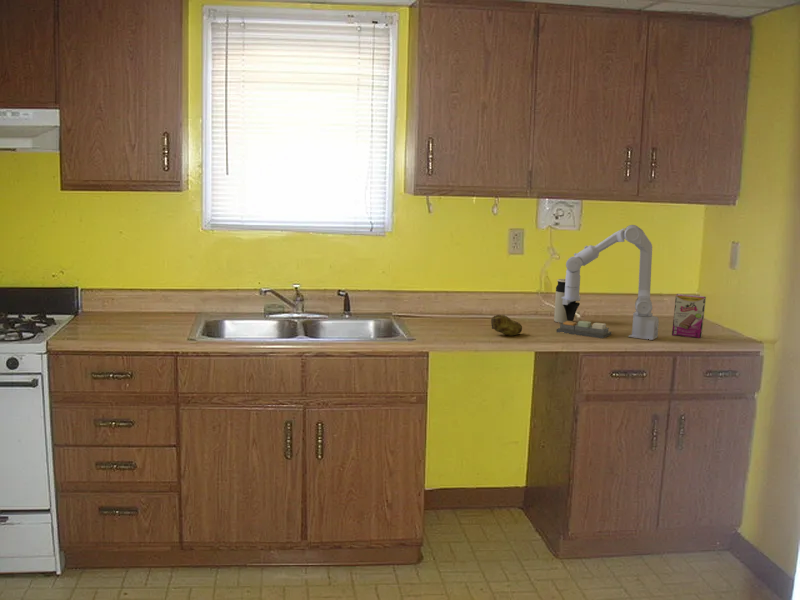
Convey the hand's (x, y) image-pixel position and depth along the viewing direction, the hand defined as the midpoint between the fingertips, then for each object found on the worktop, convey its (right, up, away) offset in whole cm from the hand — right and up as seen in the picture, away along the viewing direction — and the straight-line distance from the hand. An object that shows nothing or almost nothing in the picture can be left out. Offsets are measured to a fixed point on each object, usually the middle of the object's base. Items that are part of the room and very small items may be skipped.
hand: (570, 320), depth 329 cm
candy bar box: (+46, -6, -1) cm, 47 cm away
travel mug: (+1, -1, +21) cm, 21 cm away
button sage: (+5, -2, -3) cm, 6 cm away
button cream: (+10, -3, -6) cm, 12 cm away
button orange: (0, -3, 0) cm, 3 cm away
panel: (+5, -5, -2) cm, 7 cm away
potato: (-27, -6, -11) cm, 30 cm away
